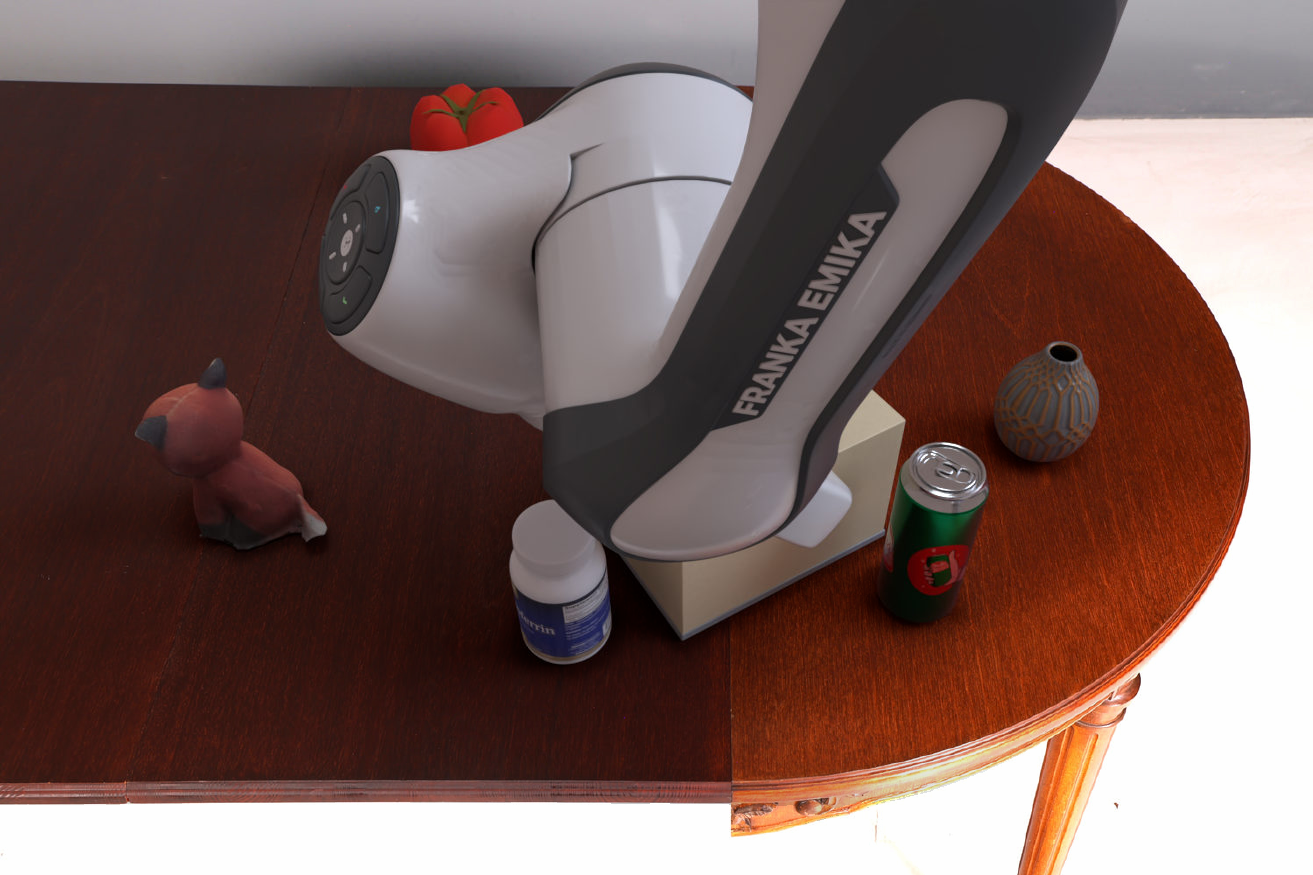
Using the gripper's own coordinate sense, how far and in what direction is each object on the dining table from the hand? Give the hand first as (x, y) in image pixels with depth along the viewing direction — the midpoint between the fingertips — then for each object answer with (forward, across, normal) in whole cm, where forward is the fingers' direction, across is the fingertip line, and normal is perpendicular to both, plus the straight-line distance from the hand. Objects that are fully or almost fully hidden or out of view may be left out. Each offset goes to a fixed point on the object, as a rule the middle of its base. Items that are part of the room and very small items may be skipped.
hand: (775, 429), depth 61 cm
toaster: (+9, +3, +9) cm, 13 cm away
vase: (+25, -2, -7) cm, 26 cm away
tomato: (+11, +54, +7) cm, 55 cm away
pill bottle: (-1, +2, +19) cm, 19 cm away
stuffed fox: (-11, +21, +28) cm, 37 cm away
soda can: (+14, -8, +4) cm, 16 cm away
